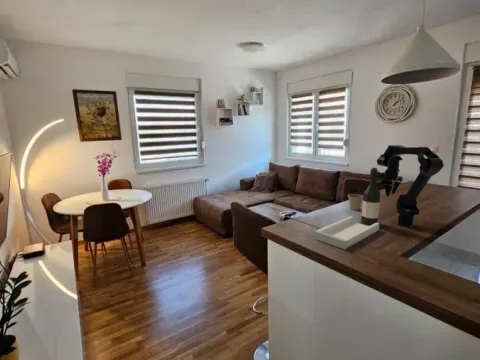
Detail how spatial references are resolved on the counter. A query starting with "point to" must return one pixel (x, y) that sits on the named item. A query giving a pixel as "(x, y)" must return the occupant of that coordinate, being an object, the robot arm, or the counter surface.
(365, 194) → the wine bottle
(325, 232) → the tray
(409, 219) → the robot arm
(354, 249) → the counter surface
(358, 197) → the flower pot
